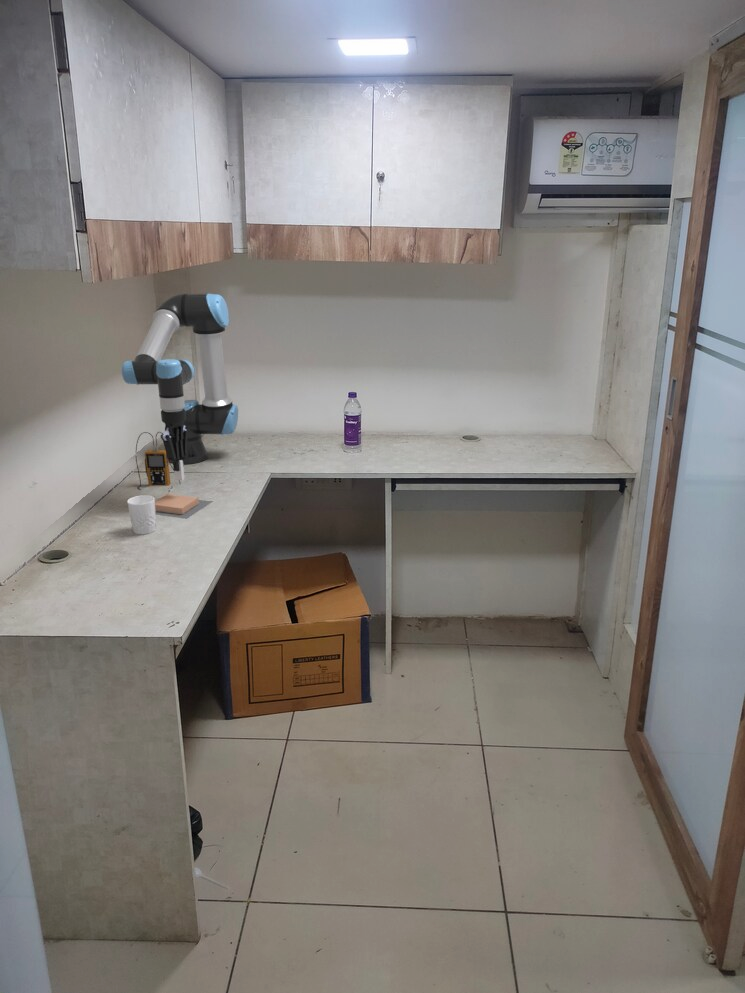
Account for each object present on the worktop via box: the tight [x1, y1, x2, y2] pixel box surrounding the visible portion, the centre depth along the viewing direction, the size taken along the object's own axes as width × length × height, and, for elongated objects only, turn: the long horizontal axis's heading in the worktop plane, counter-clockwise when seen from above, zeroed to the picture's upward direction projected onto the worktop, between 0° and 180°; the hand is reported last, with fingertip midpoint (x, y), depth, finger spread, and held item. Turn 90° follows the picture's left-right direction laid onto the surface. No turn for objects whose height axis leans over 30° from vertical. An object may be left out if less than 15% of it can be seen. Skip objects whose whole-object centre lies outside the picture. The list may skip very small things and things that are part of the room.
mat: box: [155, 499, 213, 520], centre depth 236 cm, size 16×18×1 cm
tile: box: [155, 493, 200, 514], centre depth 234 cm, size 2×12×10 cm
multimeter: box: [135, 431, 181, 491], centre depth 250 cm, size 15×10×20 cm
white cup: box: [127, 495, 157, 535], centre depth 217 cm, size 8×8×10 cm
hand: (179, 479), depth 236 cm, fingers closed
